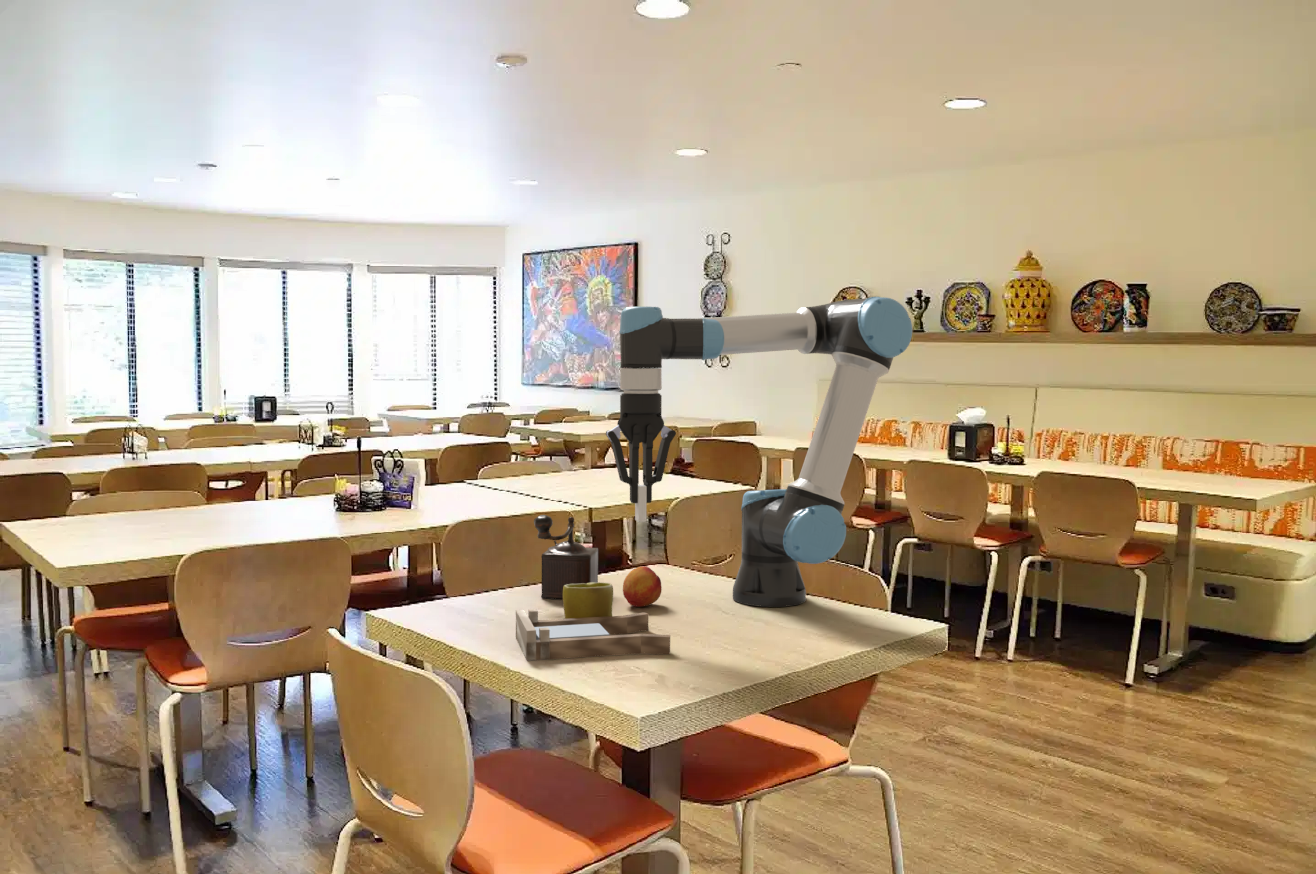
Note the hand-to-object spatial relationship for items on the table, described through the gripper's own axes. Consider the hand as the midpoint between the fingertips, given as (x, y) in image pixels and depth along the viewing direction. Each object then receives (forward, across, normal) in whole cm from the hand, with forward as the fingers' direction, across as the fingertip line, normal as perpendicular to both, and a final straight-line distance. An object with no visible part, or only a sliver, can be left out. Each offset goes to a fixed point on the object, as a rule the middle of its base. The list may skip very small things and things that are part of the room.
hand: (640, 520), depth 201 cm
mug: (+20, +8, -5) cm, 23 cm away
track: (+20, +11, +9) cm, 25 cm away
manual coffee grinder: (+20, +9, -30) cm, 37 cm away
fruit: (+21, -5, -18) cm, 28 cm away
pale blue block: (+21, +15, +10) cm, 27 cm away
